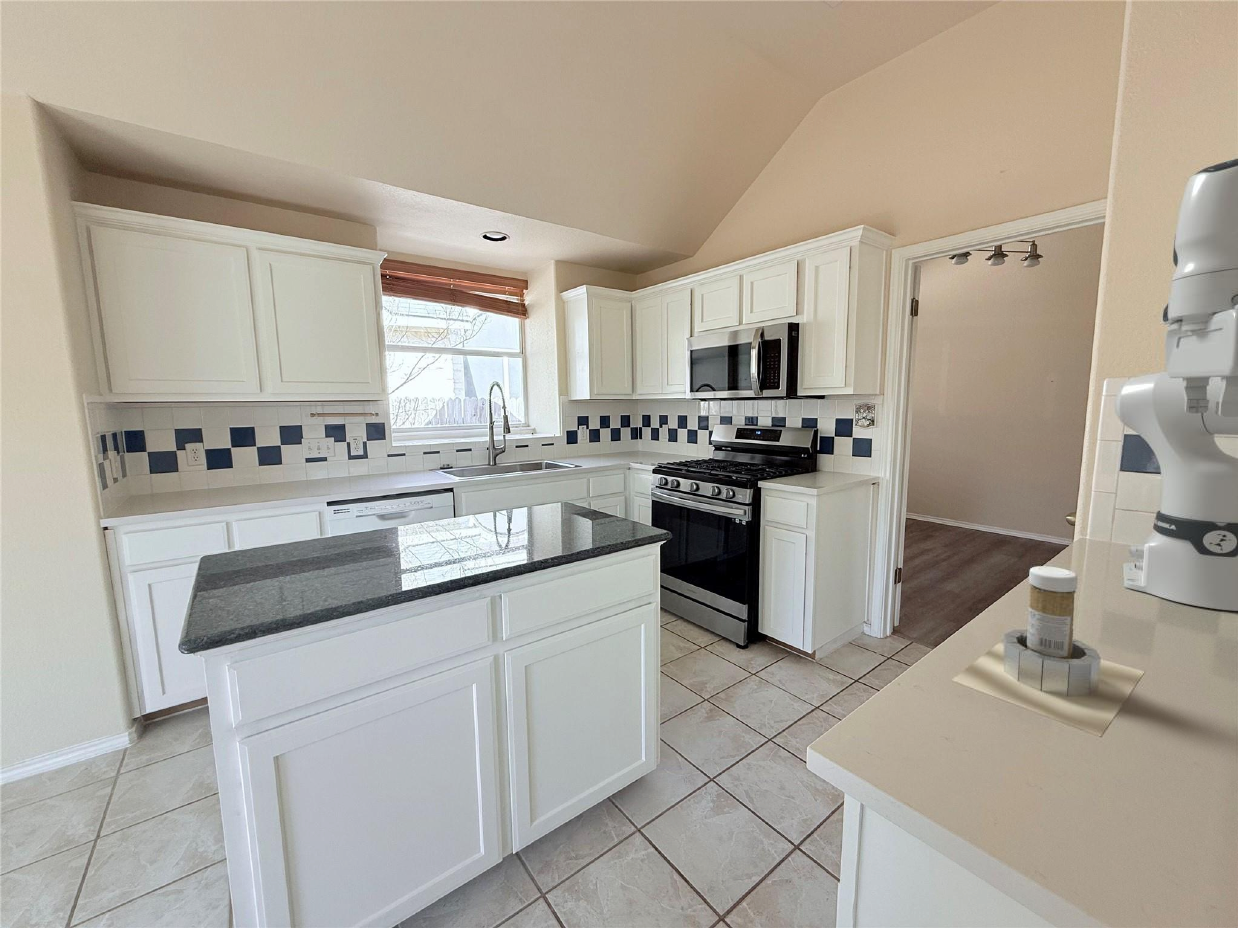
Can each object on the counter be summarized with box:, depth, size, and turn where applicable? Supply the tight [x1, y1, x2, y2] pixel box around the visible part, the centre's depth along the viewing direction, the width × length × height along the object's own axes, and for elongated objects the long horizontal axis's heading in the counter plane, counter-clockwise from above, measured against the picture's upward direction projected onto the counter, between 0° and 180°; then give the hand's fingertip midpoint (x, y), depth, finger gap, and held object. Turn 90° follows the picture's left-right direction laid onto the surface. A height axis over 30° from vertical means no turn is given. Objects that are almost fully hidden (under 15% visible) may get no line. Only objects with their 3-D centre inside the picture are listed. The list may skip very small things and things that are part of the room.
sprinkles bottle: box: [1027, 565, 1078, 659], centre depth 64 cm, size 5×5×13 cm
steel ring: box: [1003, 629, 1102, 697], centre depth 64 cm, size 9×9×4 cm
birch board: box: [950, 638, 1145, 738], centre depth 65 cm, size 20×14×1 cm
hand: (1211, 414), depth 64 cm, fingers open, 8 cm apart
